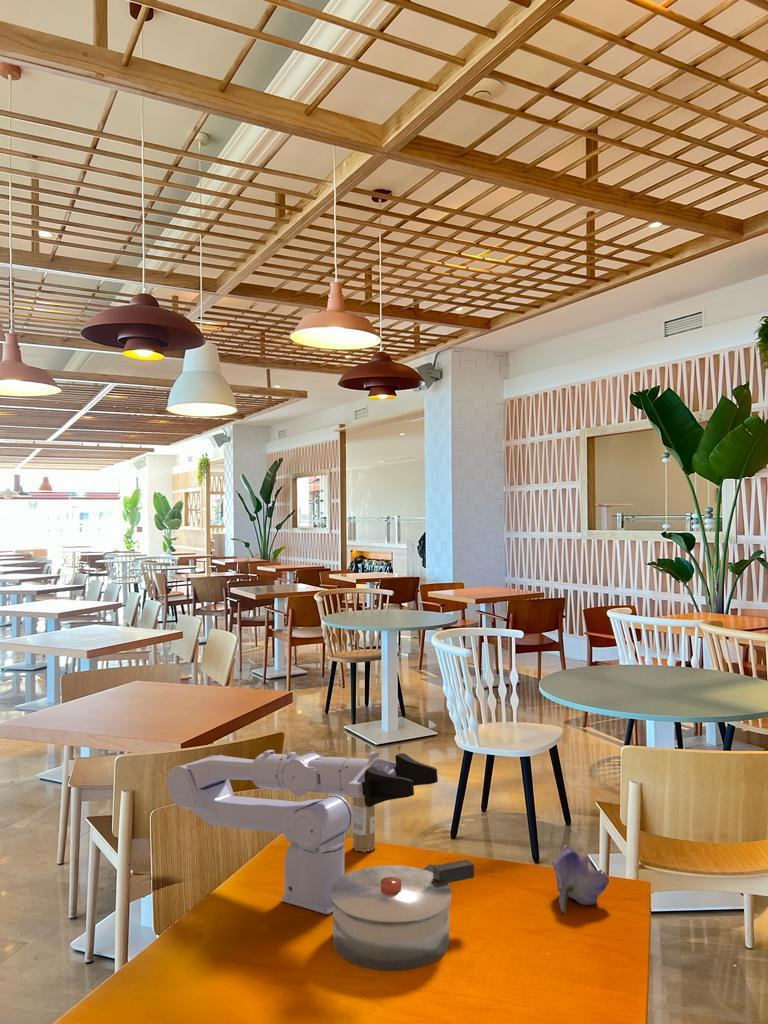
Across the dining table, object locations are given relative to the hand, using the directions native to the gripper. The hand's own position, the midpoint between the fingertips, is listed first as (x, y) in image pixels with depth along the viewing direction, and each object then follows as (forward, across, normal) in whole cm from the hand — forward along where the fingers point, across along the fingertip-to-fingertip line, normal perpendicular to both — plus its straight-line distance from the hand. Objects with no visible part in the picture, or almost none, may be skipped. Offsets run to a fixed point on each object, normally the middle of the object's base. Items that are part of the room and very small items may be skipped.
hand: (424, 781), depth 113 cm
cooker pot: (-5, -2, +21) cm, 22 cm away
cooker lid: (-3, -3, +15) cm, 16 cm away
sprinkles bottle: (-27, +22, +20) cm, 40 cm away
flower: (+15, +20, +23) cm, 34 cm away
